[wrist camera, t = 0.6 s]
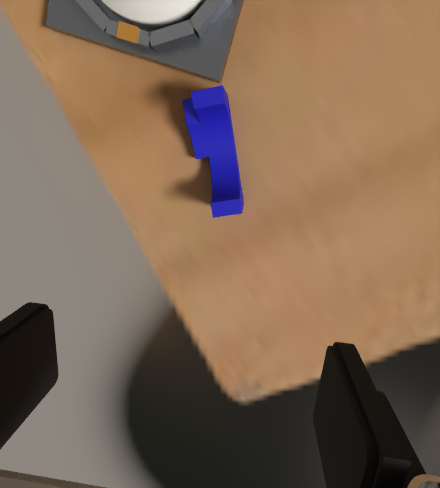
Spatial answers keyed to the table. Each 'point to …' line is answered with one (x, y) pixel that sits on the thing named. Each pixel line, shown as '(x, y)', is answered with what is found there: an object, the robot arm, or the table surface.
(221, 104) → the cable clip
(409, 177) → the table surface
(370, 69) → the table surface
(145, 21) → the dial
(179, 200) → the table surface
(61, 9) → the panel
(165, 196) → the table surface
